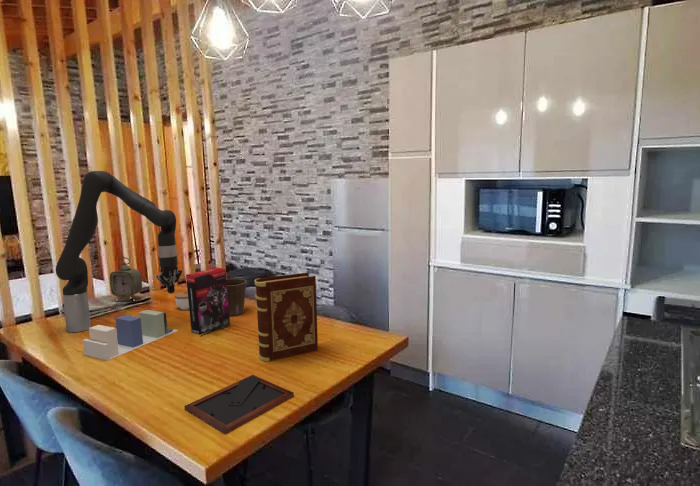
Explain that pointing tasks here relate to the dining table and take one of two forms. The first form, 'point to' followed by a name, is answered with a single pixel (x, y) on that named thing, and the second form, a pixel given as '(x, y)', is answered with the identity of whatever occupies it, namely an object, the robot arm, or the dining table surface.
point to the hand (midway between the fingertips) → (171, 293)
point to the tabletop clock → (125, 281)
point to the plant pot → (236, 295)
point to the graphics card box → (208, 300)
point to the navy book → (129, 331)
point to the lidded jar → (182, 300)
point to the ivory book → (105, 337)
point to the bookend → (166, 324)
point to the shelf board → (102, 349)
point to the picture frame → (238, 403)
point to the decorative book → (286, 315)
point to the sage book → (152, 323)
